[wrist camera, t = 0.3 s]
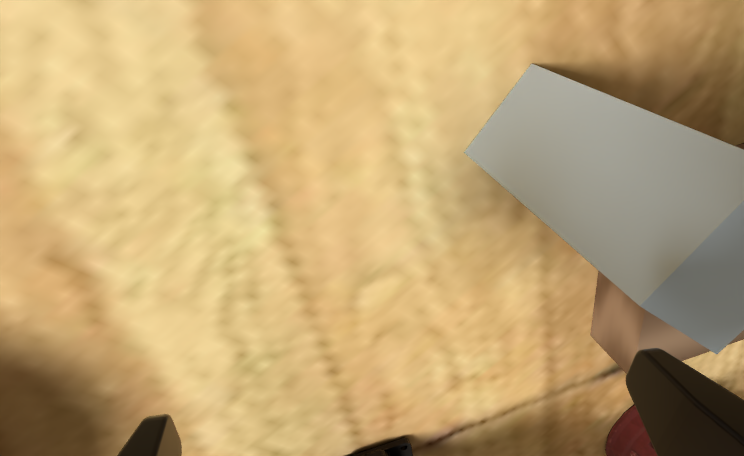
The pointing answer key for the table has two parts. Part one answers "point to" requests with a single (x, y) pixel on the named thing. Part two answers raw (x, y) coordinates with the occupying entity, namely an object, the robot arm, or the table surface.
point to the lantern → (629, 437)
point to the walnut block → (636, 327)
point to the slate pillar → (628, 197)
